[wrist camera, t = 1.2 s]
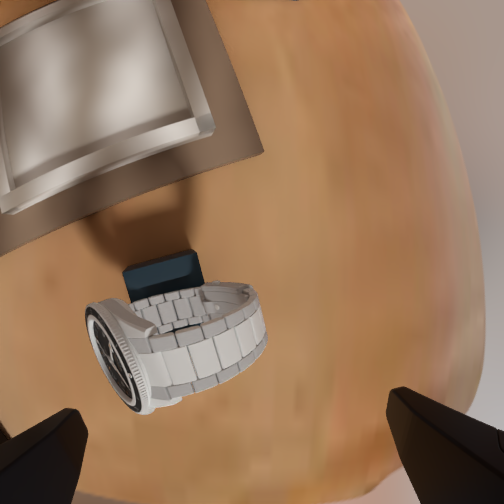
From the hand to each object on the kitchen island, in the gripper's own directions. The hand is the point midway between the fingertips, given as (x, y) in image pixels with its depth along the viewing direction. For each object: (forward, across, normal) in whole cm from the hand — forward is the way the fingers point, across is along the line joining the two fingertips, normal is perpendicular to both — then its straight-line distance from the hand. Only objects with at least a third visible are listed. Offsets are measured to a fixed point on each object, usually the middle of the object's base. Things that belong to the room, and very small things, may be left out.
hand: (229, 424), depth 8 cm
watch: (+13, +4, +1) cm, 14 cm away
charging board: (+13, +11, -14) cm, 22 cm away
